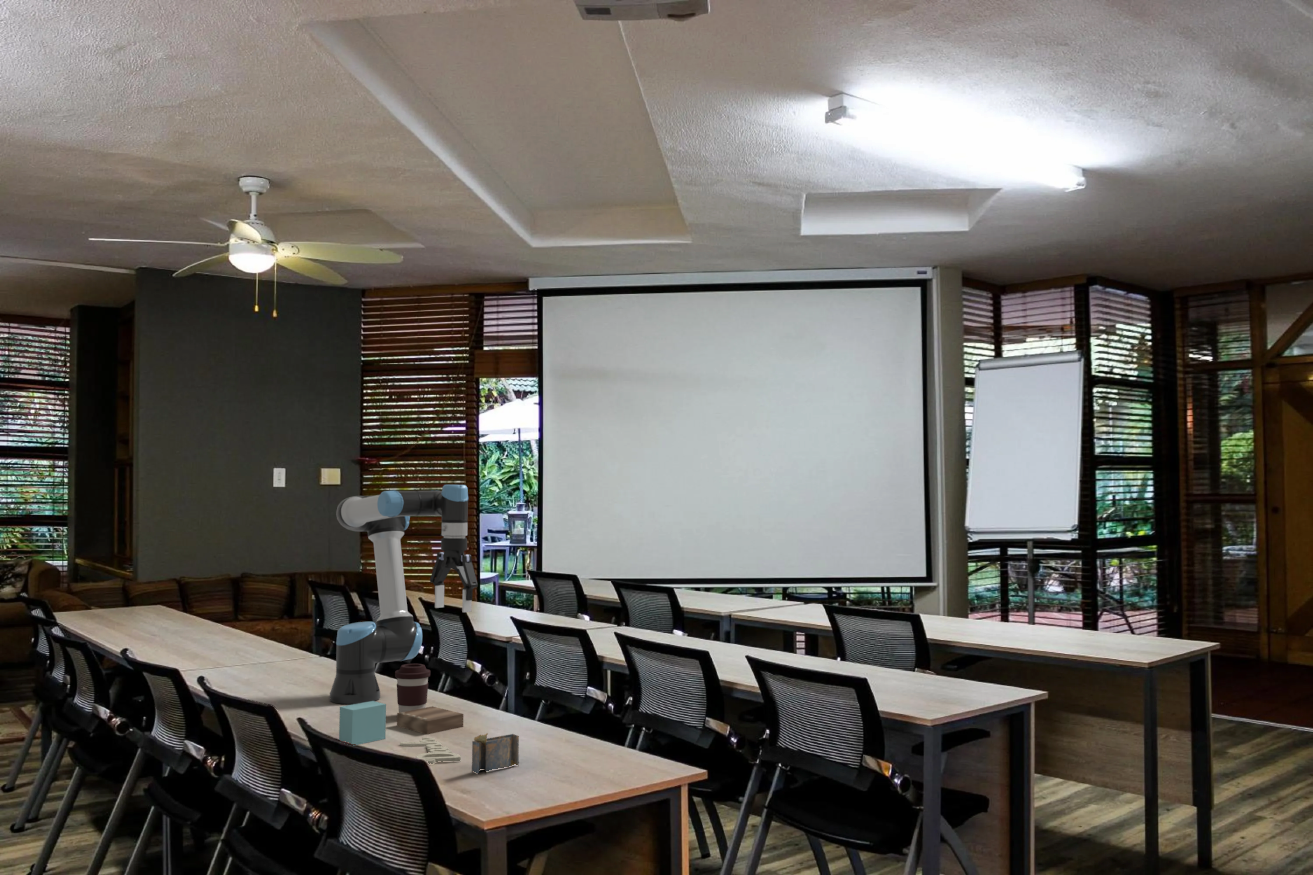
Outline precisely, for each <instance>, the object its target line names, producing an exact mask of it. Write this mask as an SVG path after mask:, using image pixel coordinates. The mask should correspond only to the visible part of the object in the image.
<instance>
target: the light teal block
mask: <svg viewBox="0 0 1313 875" xmlns="http://www.w3.org/2000/svg"><path fill="white" fill-rule="evenodd" d="M386 719H387V704H386V703H383V702H378V701H370V702H364V703H358V704H347V705H342V706H339V724H338V725H339V726H338V727H339V728H338V733H339V734H338V735H339V736H338V740H341V741H346V742H349V743H351V744H356V745H355V746H358V745H361V744H362V745H363V744H367V743H368V744H369V743H371V742H373V743H374V742H377V741H381V740H386V730H387V729H386V727H387V726H386V725H387V723H386V722H387V720H386Z"/></svg>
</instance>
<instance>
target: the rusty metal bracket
mask: <svg viewBox="0 0 1313 875" xmlns="http://www.w3.org/2000/svg"><path fill="white" fill-rule="evenodd" d="M488 734H489V733H488V732H486V733H485V734H479V735H478V736H475V737H474V738H473V740H472V745H471V746H472V747H471V748H472V752H471V754H472V755H471V756H472V757H471V772H472V771H474V772H476V773H479V774H480V771H479V770H480V769H485V770H484V771H489V770H492V769H498V768H504V767H509V766H512V765H514V764H516V765H518V766H519V761H520V760H519V759H520V758H519V756H520V754H519V749H520V747H519V746H520V735H519V734H516V733H515V734H514V733H510V734H504V735H499V736H495V737H488ZM487 737H488V738H487Z"/></svg>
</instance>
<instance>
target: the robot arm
mask: <svg viewBox="0 0 1313 875" xmlns="http://www.w3.org/2000/svg"><path fill="white" fill-rule="evenodd" d="M468 489H469V488H468V487H467V485H466V484H444V485H443V486H442V489H441V490H433V489H432V490H394V489H392V490H384V491H382V492H381V493H380V494H377V495H355V496H350V497H346V498H345V499H343V500H341V501H340V502H339V503H338V505H337V507H336V508H337V509H336V511H335V513H336V514H335V515H336V520H337V521H338V523H339V524H340V526H342V527H343V528H345V529H346V530H348V531H352V532H362V533H363V532H367V537H368V540H370V541H371V542H372V543H373V552H374V560H375V571H376V573H375V574H376V581H377V582H376V583H377V591H378V602H379V613H380V615H379V616H378V618H377V619H376V623H375V621H362V622H361V621H358V622H357V621H356V622H352V623H348V624H345V625H343V626H341V627H340V628H338V630H337V635H336V641H335V644H336V652H335V654H336V655H335V656H336V657H335V658H336V659H335V660H336V662H335V668H336V669H335V677H334V680H333V683H332V686H331V689H330V692H329V702H331V703H335V704H342V705H346V704H347V705H353V704H358V703H364V702H370V701H375V702H377V701H378V700H380V699H381V689H380V686H379V683H378V680H377V676H376V672H375V671H376V670H375V669H376V668H375V667H376V664H379V663H381V664H382V663H389V662H402V661H406V660H412V659H414V658H415V657H416V656H417V655H418V654H419V652H420V649H421V648H422V643H423V630H422V627H421V625H420V623H419V622H417V621H414V616H413V614H411V613H410V612H409V611H408V604H407V602H408V601H407V594H406V593H407V592H406V584H405V573H404V572H405V570H404V563H403V555H402V554H403V552H402V544H401V543H402V542H401V539H402V538H403V536H404V535H405V531H406V530H407V529H408V527H409V525H410V518H411V517H431V516H432V517H441V536H442V537H441V539H440V549H441V551H439V552H437V553H436V560H435V562H434V566H433V569H432V573H431V576H430V579H429V582H430V583H431V584H433V585H434V608H435V609H439V608H445V583H444V581H445V580H446V578H447V576H448V574H449V573H450V572H451V570H454V571H456V573H457V574H458V577H459V578H460V581H461V583H462V586H463V588H462V608H461V611H462V613H468V612H469V613H470V612H472V606H473V604H472V603H473V594H474V593H473V590H474V589H475V588H478V587H479V584H478V581H477V577H476V573H475V570H474V565H473V561H472V555H471V554H465V551H468V550H467V549H468V539H467V537H466V536H468V518H469V517H468V514H469V513H468V512H469V511H468V510H469V492H468Z"/></svg>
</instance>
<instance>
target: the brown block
mask: <svg viewBox="0 0 1313 875" xmlns="http://www.w3.org/2000/svg"><path fill="white" fill-rule="evenodd" d="M396 727H398V728H402V729H406V730H410V731H413V732H416V733H420V734H425V735H432V734H436V733H442V732H445V731H451V730H454V729H460V728H464V713H461V712H458V711H453V710H449V709H445V708H440V707H437V706H433V705H432V706H429V707H428V706H426V708H421V709H416V710H411V711H406V712H400V713H399V712H397V713H396Z"/></svg>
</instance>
